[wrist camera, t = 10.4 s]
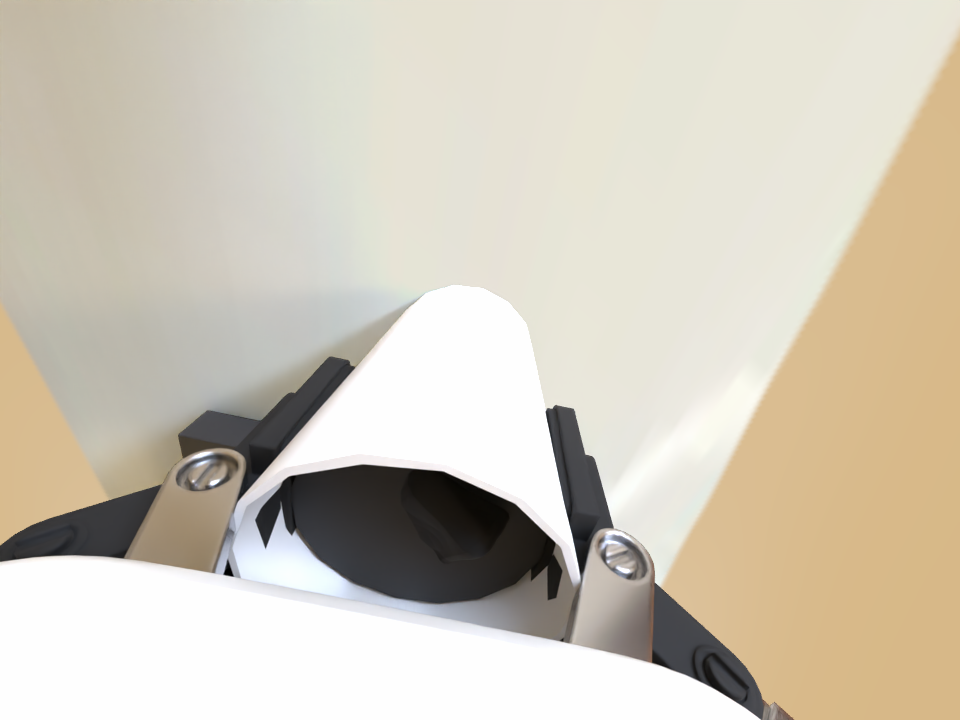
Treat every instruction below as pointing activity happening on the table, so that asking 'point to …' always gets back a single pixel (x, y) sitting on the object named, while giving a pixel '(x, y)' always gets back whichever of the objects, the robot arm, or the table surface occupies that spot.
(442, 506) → the white cup
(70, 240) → the table surface
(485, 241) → the table surface
